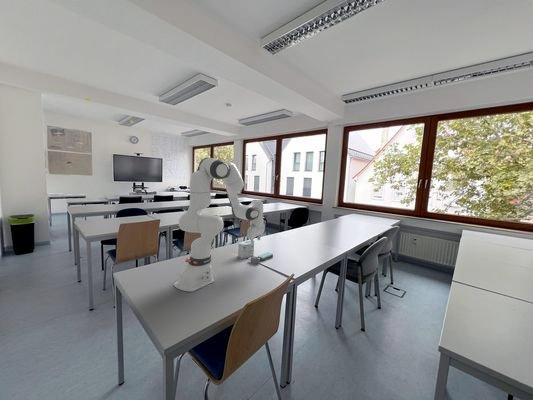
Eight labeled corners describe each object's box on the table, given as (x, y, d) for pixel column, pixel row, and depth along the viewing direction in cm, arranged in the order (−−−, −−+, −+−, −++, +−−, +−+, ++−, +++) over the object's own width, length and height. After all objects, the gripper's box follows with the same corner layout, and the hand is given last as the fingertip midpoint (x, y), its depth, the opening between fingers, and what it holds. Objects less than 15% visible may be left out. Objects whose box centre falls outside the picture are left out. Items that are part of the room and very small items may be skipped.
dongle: (260, 263, 160) (260, 257, 159) (258, 264, 157) (258, 259, 156) (250, 260, 164) (250, 255, 163) (247, 262, 160) (247, 256, 160)
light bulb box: (248, 253, 178) (249, 240, 177) (253, 256, 173) (254, 242, 172) (237, 256, 171) (238, 242, 170) (242, 258, 166) (242, 245, 165)
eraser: (262, 261, 163) (262, 257, 163) (257, 260, 167) (257, 255, 166) (272, 257, 173) (273, 253, 172) (267, 255, 176) (268, 252, 175)
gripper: (253, 226, 146) (252, 246, 148) (266, 220, 164) (265, 238, 166) (245, 225, 149) (244, 244, 150) (259, 219, 167) (258, 237, 169)
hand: (255, 241), depth 158 cm, fingers open, 8 cm apart
